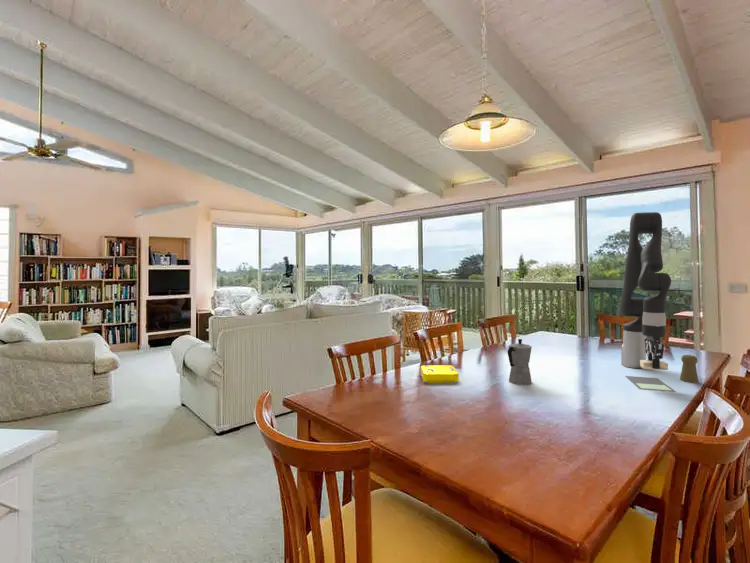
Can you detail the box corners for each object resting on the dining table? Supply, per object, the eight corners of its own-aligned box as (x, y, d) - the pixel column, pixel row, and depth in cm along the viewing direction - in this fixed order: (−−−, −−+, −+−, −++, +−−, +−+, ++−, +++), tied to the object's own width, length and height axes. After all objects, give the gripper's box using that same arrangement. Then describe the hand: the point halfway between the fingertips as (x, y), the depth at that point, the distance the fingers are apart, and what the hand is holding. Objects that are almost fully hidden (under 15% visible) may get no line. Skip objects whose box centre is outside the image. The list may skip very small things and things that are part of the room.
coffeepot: (518, 376, 172) (518, 335, 171) (538, 381, 164) (538, 338, 164) (498, 383, 162) (498, 340, 162) (519, 388, 155) (519, 343, 154)
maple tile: (663, 367, 154) (663, 361, 154) (667, 370, 150) (667, 363, 150) (639, 366, 156) (639, 359, 156) (643, 368, 152) (643, 362, 152)
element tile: (459, 383, 163) (459, 372, 163) (423, 384, 163) (423, 372, 163) (453, 374, 178) (452, 364, 178) (420, 374, 178) (420, 364, 178)
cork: (691, 379, 164) (692, 353, 164) (702, 383, 158) (702, 357, 158) (676, 379, 164) (676, 353, 164) (686, 383, 158) (686, 356, 158)
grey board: (624, 376, 169) (624, 375, 169) (657, 378, 166) (657, 377, 166) (639, 390, 151) (639, 388, 151) (676, 393, 147) (676, 391, 147)
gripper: (637, 321, 161) (636, 362, 161) (649, 325, 147) (648, 370, 147) (658, 321, 158) (658, 363, 159) (672, 326, 145) (672, 372, 145)
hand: (653, 366), depth 153 cm, fingers closed on maple tile, 4 cm apart
